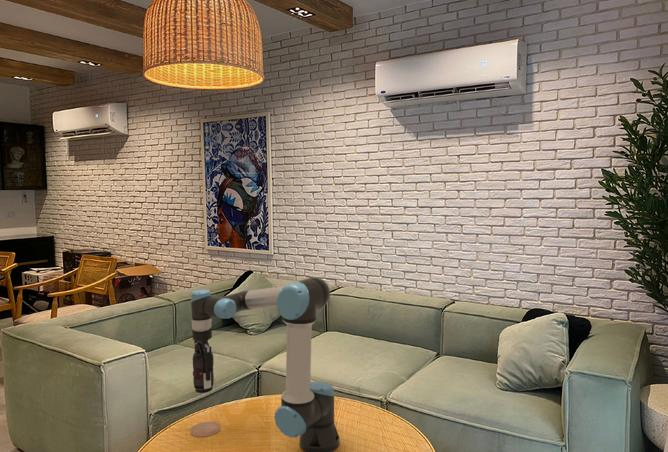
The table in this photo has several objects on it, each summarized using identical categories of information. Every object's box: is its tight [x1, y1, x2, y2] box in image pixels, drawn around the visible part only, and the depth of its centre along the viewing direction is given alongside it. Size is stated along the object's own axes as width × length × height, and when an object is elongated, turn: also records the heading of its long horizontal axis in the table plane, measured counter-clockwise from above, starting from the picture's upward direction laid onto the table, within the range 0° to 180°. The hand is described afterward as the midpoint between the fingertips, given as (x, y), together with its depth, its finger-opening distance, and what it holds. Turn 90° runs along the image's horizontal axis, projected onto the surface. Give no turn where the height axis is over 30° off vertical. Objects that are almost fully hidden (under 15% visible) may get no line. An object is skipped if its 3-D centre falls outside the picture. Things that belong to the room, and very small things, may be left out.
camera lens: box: [192, 351, 215, 394], centre depth 200 cm, size 8×8×15 cm
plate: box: [189, 421, 222, 438], centre depth 202 cm, size 12×12×1 cm
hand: (204, 384), depth 201 cm, fingers closed on camera lens, 8 cm apart
